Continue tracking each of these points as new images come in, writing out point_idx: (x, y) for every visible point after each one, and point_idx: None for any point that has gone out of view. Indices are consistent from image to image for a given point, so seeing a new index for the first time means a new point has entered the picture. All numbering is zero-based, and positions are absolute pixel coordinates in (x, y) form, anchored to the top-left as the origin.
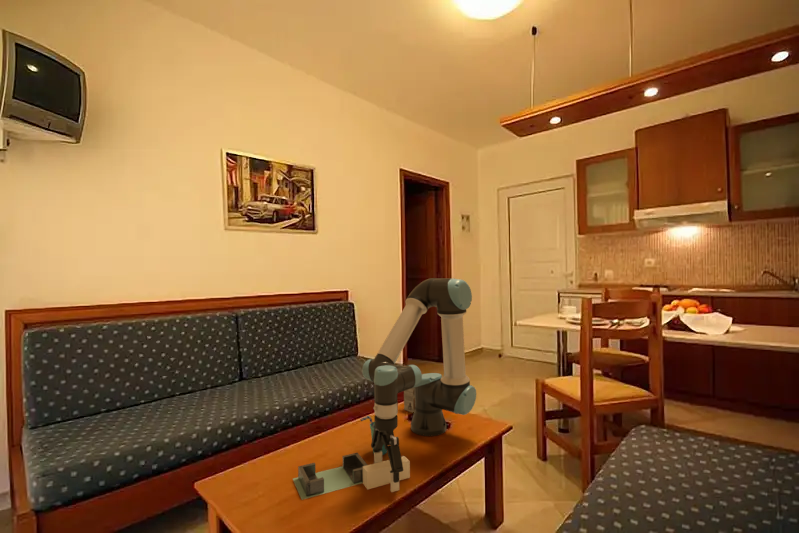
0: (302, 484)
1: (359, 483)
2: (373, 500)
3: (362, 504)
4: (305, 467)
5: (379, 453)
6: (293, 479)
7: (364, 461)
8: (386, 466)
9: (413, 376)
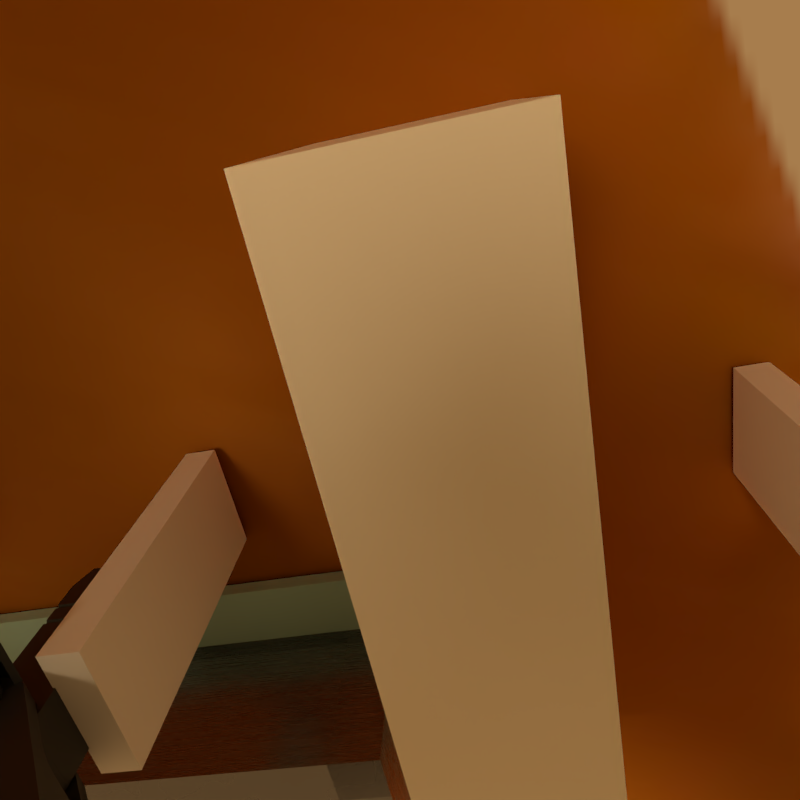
0: None
1: None
2: (782, 655)
3: (789, 745)
4: None
5: (113, 688)
6: None
7: (192, 778)
8: (583, 647)
9: None
